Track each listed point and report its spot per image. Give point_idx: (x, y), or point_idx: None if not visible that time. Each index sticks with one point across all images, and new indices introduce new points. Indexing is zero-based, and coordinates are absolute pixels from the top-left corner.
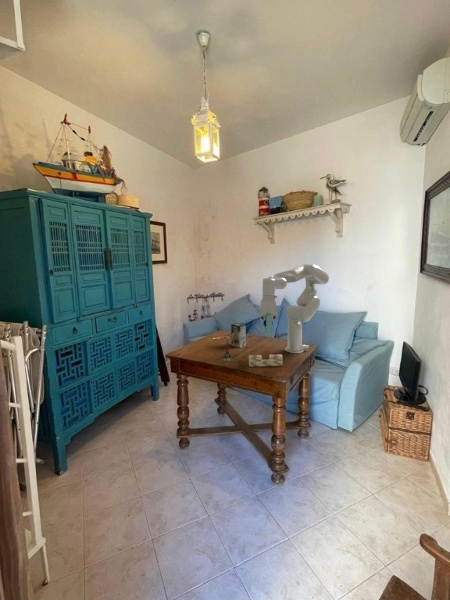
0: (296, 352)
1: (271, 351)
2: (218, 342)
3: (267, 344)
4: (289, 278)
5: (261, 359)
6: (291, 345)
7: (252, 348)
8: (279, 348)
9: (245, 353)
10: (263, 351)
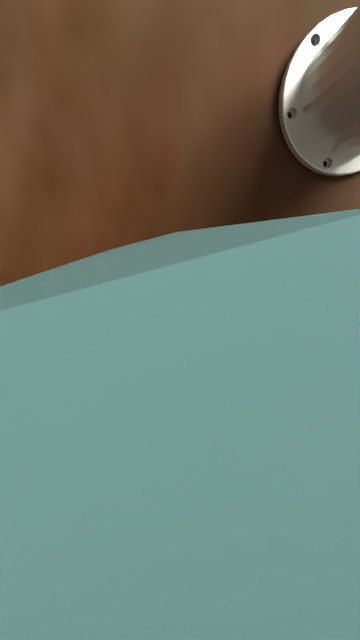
0: (351, 173)
1: (177, 158)
2: None
3: None
4: None
5: None
6: (348, 138)
7: (17, 106)
8: (234, 64)
9: (3, 241)
10: (120, 170)
